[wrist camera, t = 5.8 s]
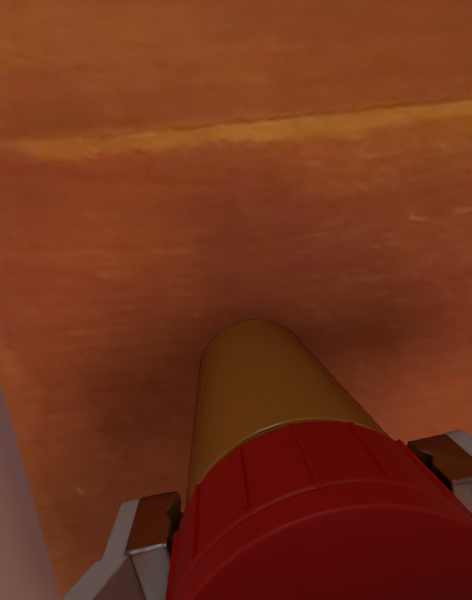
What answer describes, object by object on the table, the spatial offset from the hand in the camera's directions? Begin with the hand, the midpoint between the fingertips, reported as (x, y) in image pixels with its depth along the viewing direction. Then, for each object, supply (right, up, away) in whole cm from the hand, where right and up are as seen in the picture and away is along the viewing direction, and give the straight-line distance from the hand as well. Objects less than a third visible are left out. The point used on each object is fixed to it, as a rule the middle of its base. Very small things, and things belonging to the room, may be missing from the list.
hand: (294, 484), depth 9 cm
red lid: (0, -1, -3) cm, 3 cm away
